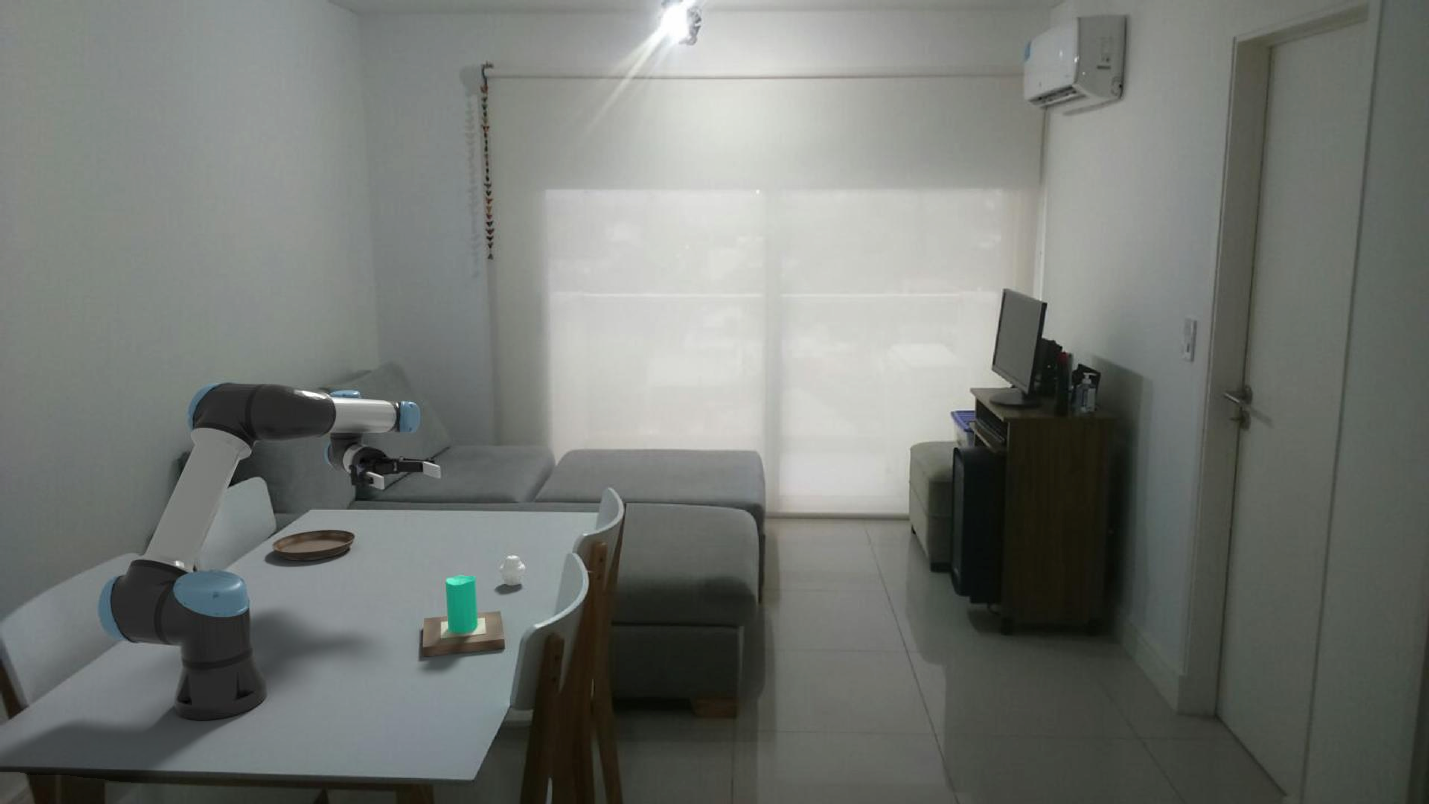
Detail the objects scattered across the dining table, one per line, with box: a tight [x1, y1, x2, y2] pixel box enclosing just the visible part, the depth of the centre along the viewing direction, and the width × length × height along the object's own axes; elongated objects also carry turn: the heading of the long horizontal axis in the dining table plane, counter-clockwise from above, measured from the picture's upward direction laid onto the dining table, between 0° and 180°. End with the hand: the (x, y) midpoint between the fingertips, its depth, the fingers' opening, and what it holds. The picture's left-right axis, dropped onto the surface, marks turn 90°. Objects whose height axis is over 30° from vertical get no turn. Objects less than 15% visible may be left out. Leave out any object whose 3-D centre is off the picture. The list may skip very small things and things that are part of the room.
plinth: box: [422, 610, 506, 657], centre depth 221 cm, size 16×16×2 cm
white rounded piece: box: [498, 555, 526, 587], centre depth 253 cm, size 6×6×7 cm
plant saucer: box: [271, 529, 356, 561], centre depth 280 cm, size 21×21×3 cm
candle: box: [445, 571, 478, 633], centre depth 219 cm, size 6×6×12 cm
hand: (411, 477), depth 233 cm, fingers open, 13 cm apart
